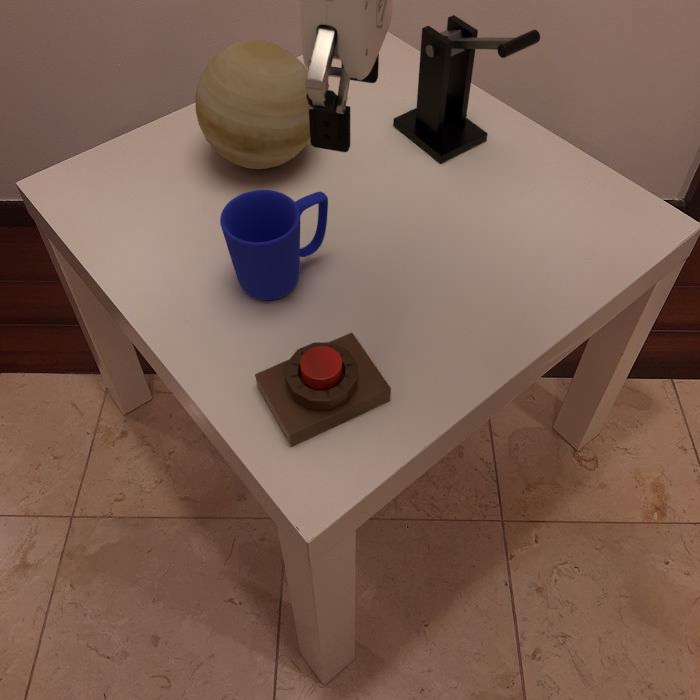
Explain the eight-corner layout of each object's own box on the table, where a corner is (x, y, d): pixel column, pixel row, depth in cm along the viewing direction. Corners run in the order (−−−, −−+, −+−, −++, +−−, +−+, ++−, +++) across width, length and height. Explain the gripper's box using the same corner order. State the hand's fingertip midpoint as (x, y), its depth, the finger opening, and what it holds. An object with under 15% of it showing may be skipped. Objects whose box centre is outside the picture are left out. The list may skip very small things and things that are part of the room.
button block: (352, 344, 78) (351, 320, 75) (390, 400, 74) (391, 377, 71) (257, 386, 75) (252, 363, 72) (291, 447, 71) (288, 425, 68)
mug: (348, 274, 84) (347, 207, 76) (256, 320, 80) (244, 255, 72) (309, 232, 89) (304, 165, 81) (220, 274, 84) (205, 208, 77)
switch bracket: (486, 140, 99) (504, 36, 87) (440, 164, 96) (451, 59, 84) (438, 104, 104) (448, 1, 92) (393, 125, 101) (397, 21, 89)
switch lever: (541, 47, 81) (539, 24, 80) (508, 63, 79) (504, 39, 78) (458, 46, 92) (455, 26, 91) (427, 60, 90) (423, 39, 89)
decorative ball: (190, 140, 99) (167, 35, 87) (292, 108, 103) (283, 4, 91) (231, 208, 91) (211, 102, 79) (340, 171, 95) (337, 65, 83)
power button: (330, 350, 73) (330, 339, 72) (349, 379, 71) (349, 369, 70) (294, 366, 72) (292, 355, 71) (312, 396, 70) (311, 386, 69)
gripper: (369, -41, 43) (364, 185, 57) (425, -154, 53) (409, 62, 67) (247, -56, 45) (271, 169, 58) (325, -164, 55) (330, 50, 68)
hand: (345, 112), depth 63 cm, fingers open, 9 cm apart
